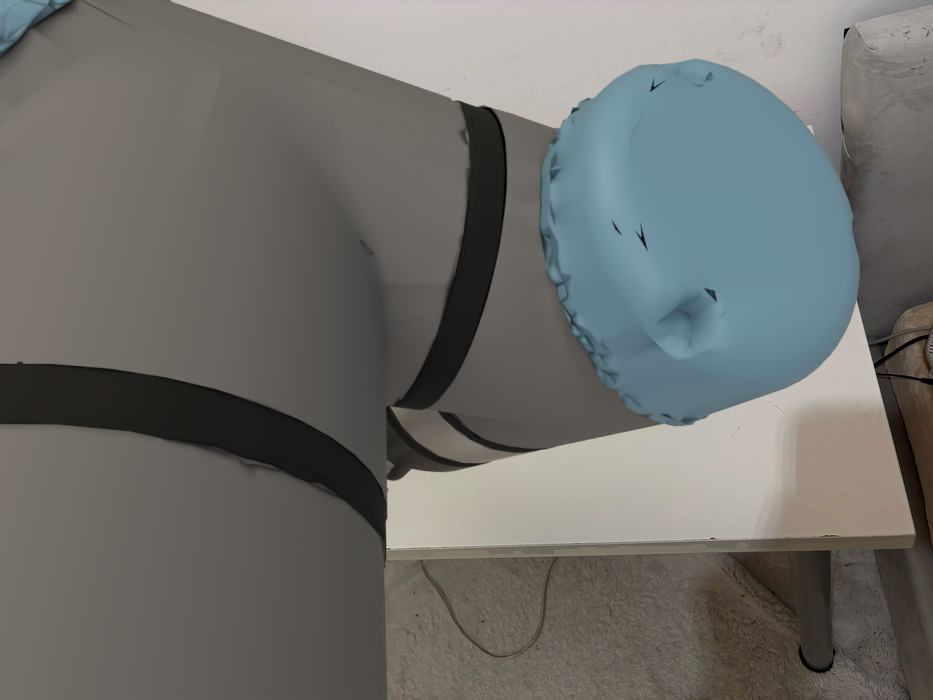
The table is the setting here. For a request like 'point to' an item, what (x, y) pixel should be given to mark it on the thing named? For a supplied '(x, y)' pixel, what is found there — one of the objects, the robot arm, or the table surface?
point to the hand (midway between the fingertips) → (349, 443)
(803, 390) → the table surface
